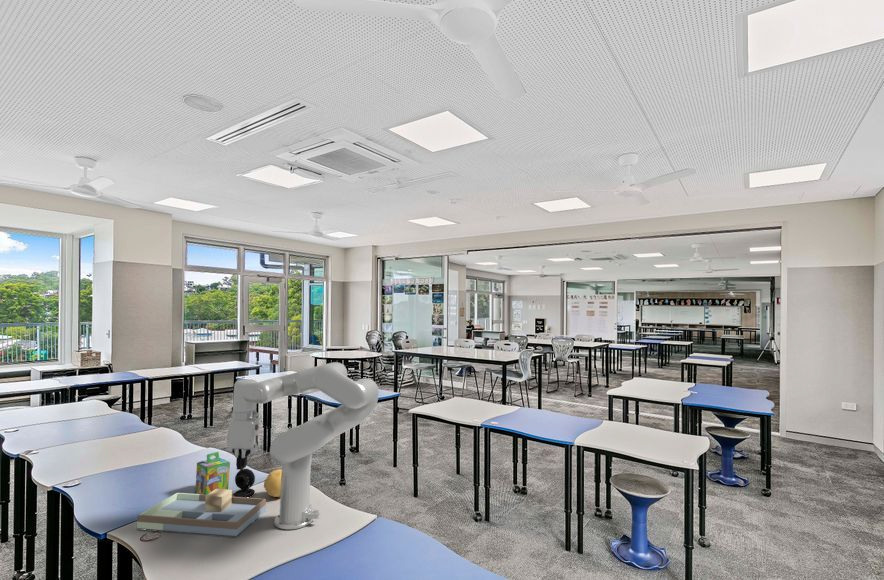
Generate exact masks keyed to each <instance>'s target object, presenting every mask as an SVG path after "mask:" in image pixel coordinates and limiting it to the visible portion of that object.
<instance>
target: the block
mask: <svg viewBox="0 0 884 580" xmlns="http://www.w3.org/2000/svg"><path fill="white" fill-rule="evenodd" d="M232 497H233V490H232V489H228V490H227V489H215V490H214V491H212V492H210V493H209V494H207V495H206V496H205V511H217V512H222V511H223V510H224V509H226V508H227V507H228V506H230V505H231V503H232Z"/></svg>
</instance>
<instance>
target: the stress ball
mask: <svg viewBox="0 0 884 580" xmlns="http://www.w3.org/2000/svg"><path fill="white" fill-rule="evenodd" d="M281 474H282V468H279V469H275V470H273V471H271V472H270V473H269V474H268V475H267V476H266V478H265V479H264V482H263V488H264V490H265V492H266V493H267V494H268V495H269V496H270V497H273V498H275V497H278V498H280V495H281Z"/></svg>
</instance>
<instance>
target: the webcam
mask: <svg viewBox="0 0 884 580" xmlns="http://www.w3.org/2000/svg"><path fill="white" fill-rule="evenodd" d="M255 475H256V474H255V473H254V472H253V470H251V469H250V468H244V469H242V470H240V469H239V471H237V472H236V474H235V476H234V481H235V485H236V487H237V488H238V490H236V491H235V492H234V493H233V497H246V498H247V497H249V498H251V497H253V496H254V495H255V493H256V491H255V490H254V489H253V488H252V486H253V485H254V483H255V482H256V476H255ZM249 492H251V493H249ZM252 495H253V496H252ZM250 496H251V497H250Z"/></svg>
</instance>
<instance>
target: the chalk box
mask: <svg viewBox="0 0 884 580" xmlns="http://www.w3.org/2000/svg"><path fill="white" fill-rule="evenodd" d="M219 453H220V452H218V451H216V452H210V453H207V455H206V459H205V460H201V461H198V462H196V471H195V472H196V474H195V494H203V495H207V494H209V493H210V492H212V491H214V490H215V489H227V490H229V482H230V469H231V468H230V465H231V462H230V461H227V460H226V459H225V458H221V457H220V454H219ZM213 456H214V457H215V458H211V457H213Z"/></svg>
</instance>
